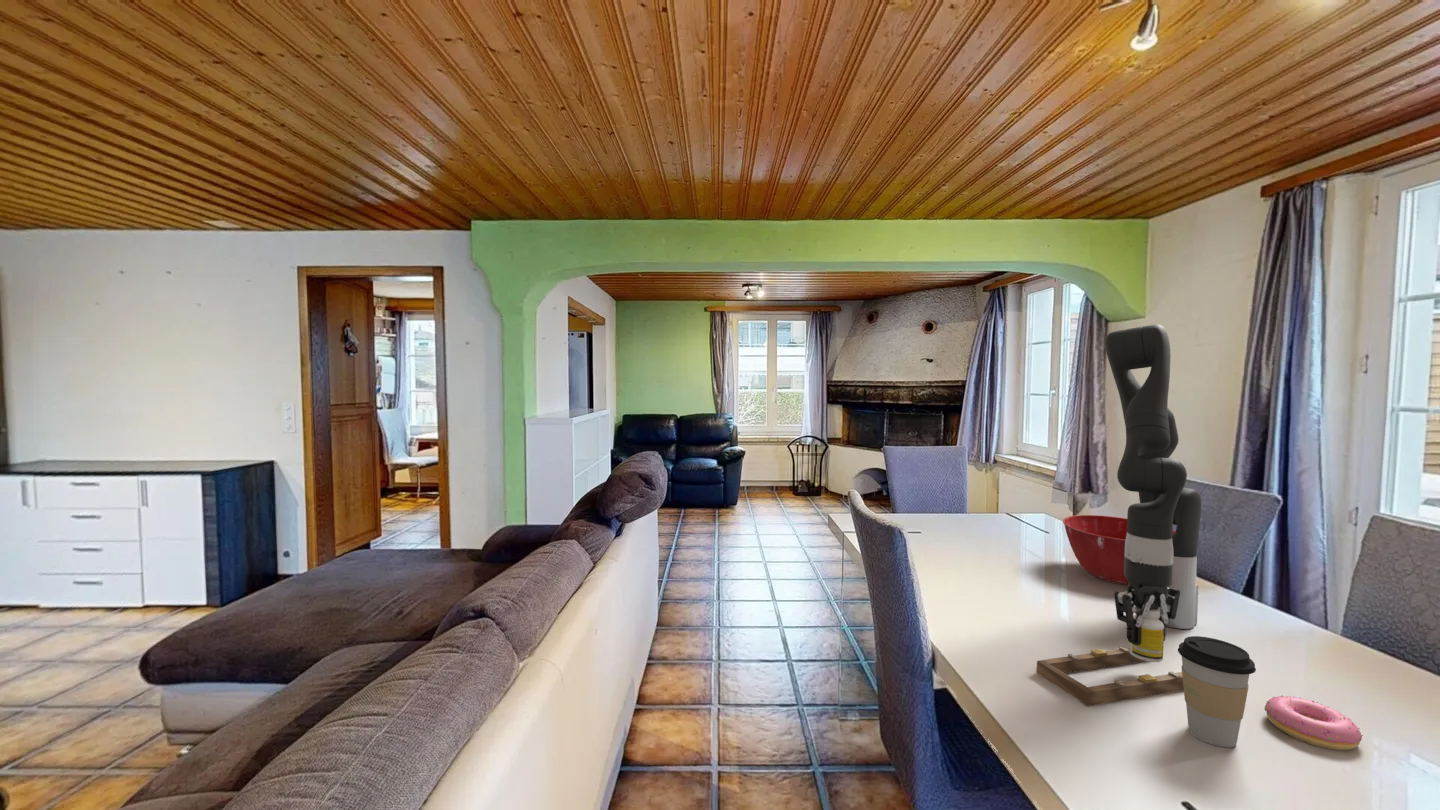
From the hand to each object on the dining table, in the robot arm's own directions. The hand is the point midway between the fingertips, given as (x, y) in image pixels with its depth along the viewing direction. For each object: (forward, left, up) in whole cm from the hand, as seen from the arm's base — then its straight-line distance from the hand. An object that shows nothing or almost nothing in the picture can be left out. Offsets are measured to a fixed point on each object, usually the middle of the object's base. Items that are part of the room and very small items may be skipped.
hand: (1145, 641), depth 107 cm
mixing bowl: (-46, -45, -7) cm, 65 cm away
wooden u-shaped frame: (+6, 0, -7) cm, 9 cm away
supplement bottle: (0, 0, -3) cm, 3 cm away
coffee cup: (+7, +17, -7) cm, 20 cm away
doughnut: (-10, +20, -7) cm, 24 cm away
